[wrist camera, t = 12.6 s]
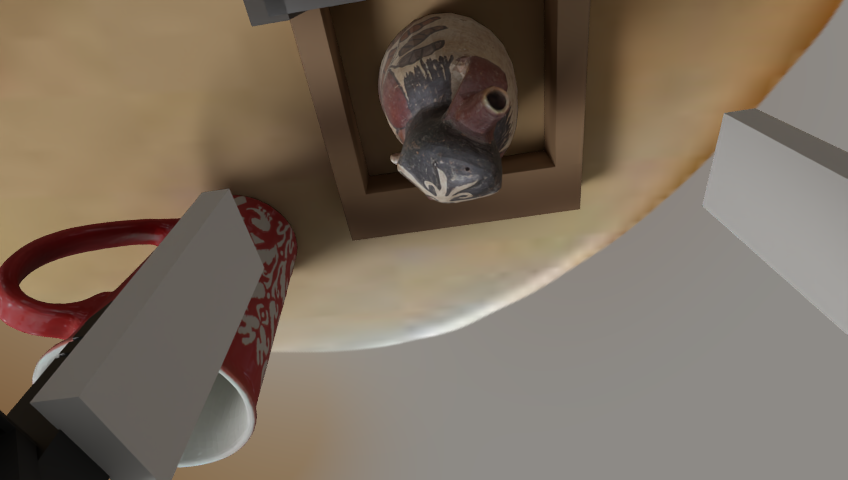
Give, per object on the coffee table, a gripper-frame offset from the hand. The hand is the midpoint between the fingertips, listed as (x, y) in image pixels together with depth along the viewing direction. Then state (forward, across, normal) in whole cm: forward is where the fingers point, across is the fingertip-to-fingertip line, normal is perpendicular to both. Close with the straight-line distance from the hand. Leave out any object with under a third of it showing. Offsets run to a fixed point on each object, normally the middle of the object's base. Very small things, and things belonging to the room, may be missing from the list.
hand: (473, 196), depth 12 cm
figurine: (+15, 0, -1) cm, 15 cm away
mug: (+15, -16, -8) cm, 23 cm away
